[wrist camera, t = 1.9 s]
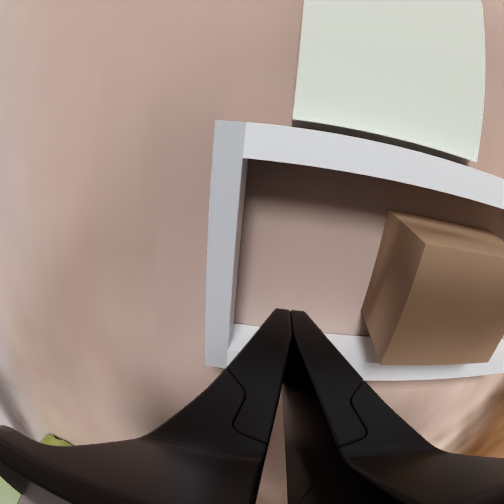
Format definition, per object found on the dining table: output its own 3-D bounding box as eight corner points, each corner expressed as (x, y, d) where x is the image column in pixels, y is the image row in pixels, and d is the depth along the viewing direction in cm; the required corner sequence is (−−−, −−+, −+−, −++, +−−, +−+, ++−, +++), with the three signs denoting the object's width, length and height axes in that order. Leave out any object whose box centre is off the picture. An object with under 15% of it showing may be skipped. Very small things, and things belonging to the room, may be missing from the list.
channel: (494, 353, 15) (506, 372, 13) (212, 338, 15) (205, 365, 13) (553, 200, 10) (575, 211, 9) (225, 120, 11) (215, 119, 9)
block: (456, 315, 14) (487, 362, 10) (360, 308, 14) (379, 364, 10) (487, 230, 12) (534, 264, 8) (387, 208, 12) (425, 243, 8)
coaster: (467, 159, 11) (476, 162, 10) (291, 119, 11) (292, 118, 10) (473, 5, 7) (481, 1, 7) (306, -47, 8) (308, -56, 7)
